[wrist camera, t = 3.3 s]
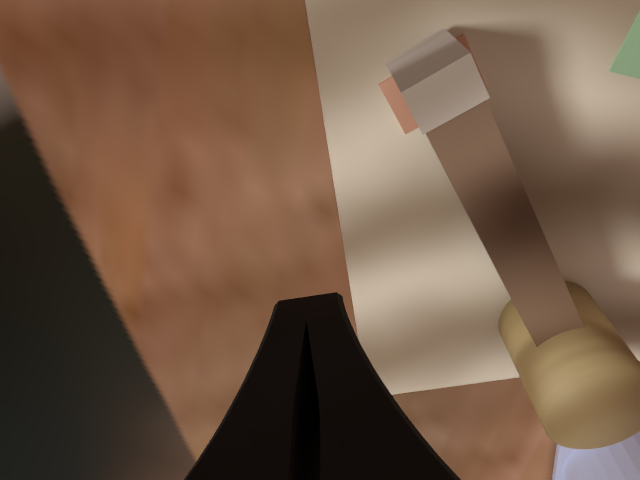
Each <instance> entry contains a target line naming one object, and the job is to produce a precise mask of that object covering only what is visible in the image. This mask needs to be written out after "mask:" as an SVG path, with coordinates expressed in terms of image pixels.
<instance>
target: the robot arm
mask: <svg viewBox="0 0 640 480" xmlns="http://www.w3.org/2000/svg"><path fill="white" fill-rule="evenodd" d="M184 480H461V479H460V478H459V477H458V476H457V475H456V474H455V473H454V472H453V471H452V470H451V469H450V468H449V467H448V465H447V464H446V463H445V462H444V461H443V460H442V459H441V458H440V457H439V456H438V454H437V453H436V452H435V451H434V450H433V448H432V447H431V446H430V445H429V444H428V442H427V441H426V440H425V439H424V438H423V436H422V435H421V434H420V433H419V431H418V430H417V429H416V428H415V426H414V425H413V424H412V422H411V421H410V420H409V419H408V417H407V416H406V415H405V413H404V412H403V411H402V409H401V408H400V406H399V405H398V404H397V402H396V401H395V399H394V398H393V396H392V395H391V393H390V392H389V390H388V389H387V387H386V386H385V384H384V383H383V382H382V380H381V378H380V377H379V375H378V374H377V372H376V370H375V369H374V367H373V365H372V364H371V362H370V360H369V358H368V357H367V355H366V353H365V351H364V349H363V348H362V346H361V344H360V342H359V340H358V338H357V336H356V334H355V332H354V330H353V327H352V325H351V323H350V321H349V318H348V316H347V313H346V310H345V306H344V303H343V297H342V296H341V295H340V294H338V293H337V292H336V293H329V294H322V295H315V296H309V297H302V298H295V299H288V300H282V301H278V302H277V304H276V305H275V306H274V309H273V313H272V316H271V319H270V321H269V324H268V327H267V330H266V332H265V335H264V337H263V340H262V342H261V344H260V347H259V349H258V352H257V354H256V356H255V358H254V360H253V362H252V365H251V367H250V369H249V371H248V373H247V375H246V377H245V379H244V382H243V384H242V385H241V387H240V389H239V391H238V393H237V395H236V397H235V399H234V400H233V402H232V404H231V406H230V408H229V410H228V411H227V413H226V415H225V417H224V419H223V420H222V422H221V424H220V426H219V427H218V429H217V431H216V432H215V434H214V435H213V437H212V439H211V440H210V442H209V443H208V445H207V447H206V448H205V450H204V451H203V453H202V454H201V456H200V457H199V459H198V460H197V462H196V463H195V465H194V466H193V468H192V469H191V470H190V472H189V473H188V475H187V476H186V478H185V479H184ZM552 480H640V431H639V432H638V433H636V434H635V435H633V436H631V437H630V438H627V439H625V440H623V441H621V442H618V443H616V444H613V445H610V446H606V447H601V448H595V449H572V448H567V447H563V446H561V445H558V444H557V447H556V454H555V461H554V468H553V475H552Z"/></svg>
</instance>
